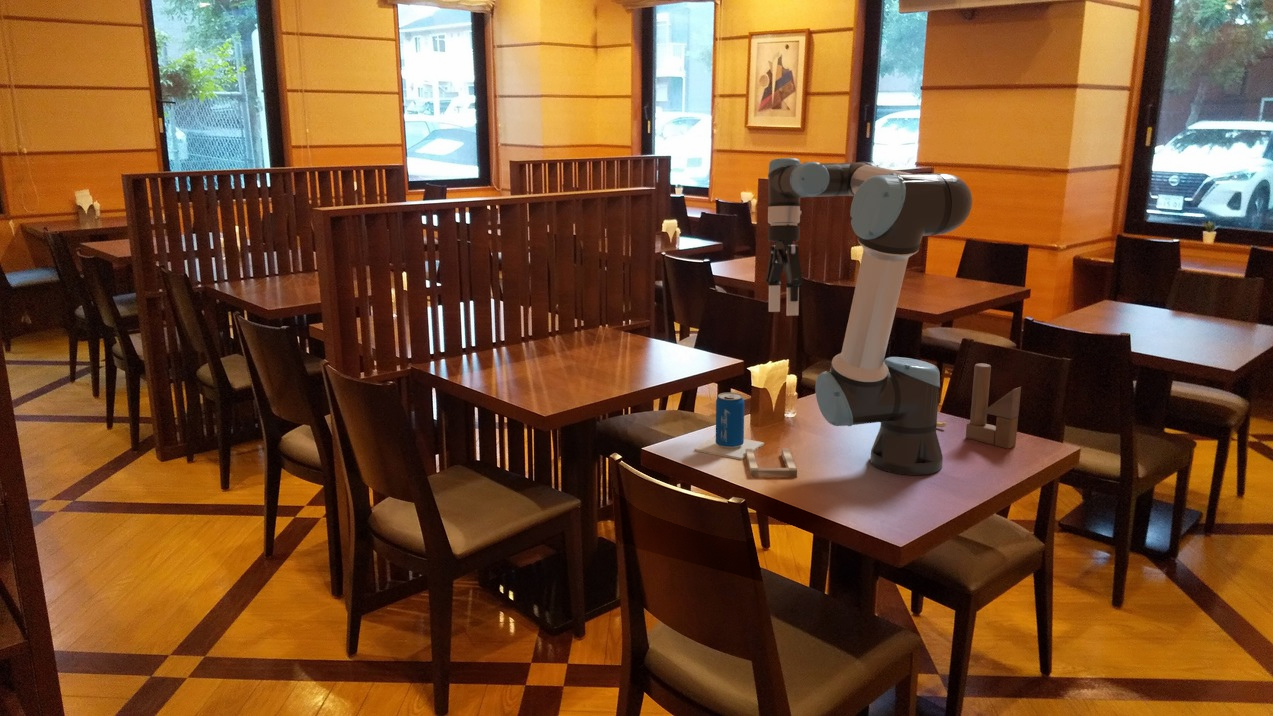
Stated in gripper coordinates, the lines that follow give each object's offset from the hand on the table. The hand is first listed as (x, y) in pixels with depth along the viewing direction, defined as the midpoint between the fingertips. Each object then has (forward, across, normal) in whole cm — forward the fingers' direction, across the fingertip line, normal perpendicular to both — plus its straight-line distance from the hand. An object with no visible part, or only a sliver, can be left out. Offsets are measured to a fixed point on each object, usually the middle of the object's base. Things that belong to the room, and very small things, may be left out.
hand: (783, 313), depth 217 cm
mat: (+30, -10, +16) cm, 36 cm away
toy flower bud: (+28, -3, -35) cm, 45 cm away
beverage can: (+30, -10, +16) cm, 35 cm away
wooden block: (+30, -18, -45) cm, 57 cm away
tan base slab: (+32, -23, +10) cm, 40 cm away
